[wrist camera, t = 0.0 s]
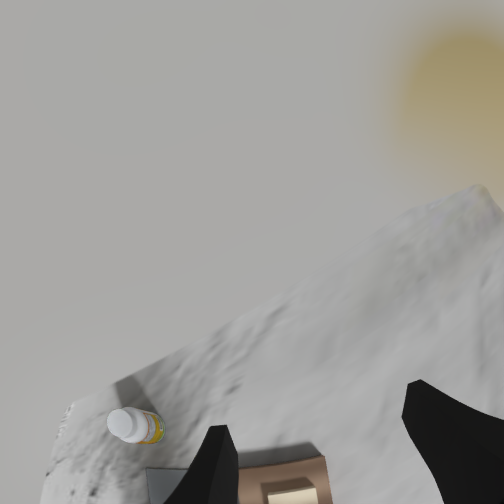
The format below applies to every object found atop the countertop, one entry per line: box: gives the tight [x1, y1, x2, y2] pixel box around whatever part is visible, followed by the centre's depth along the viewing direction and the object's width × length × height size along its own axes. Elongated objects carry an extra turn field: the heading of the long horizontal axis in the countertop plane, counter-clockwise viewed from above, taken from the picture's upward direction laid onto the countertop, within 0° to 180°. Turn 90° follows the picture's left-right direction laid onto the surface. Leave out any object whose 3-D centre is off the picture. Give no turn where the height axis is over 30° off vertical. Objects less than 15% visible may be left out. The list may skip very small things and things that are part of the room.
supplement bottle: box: [107, 407, 165, 444], centre depth 33 cm, size 5×5×10 cm
